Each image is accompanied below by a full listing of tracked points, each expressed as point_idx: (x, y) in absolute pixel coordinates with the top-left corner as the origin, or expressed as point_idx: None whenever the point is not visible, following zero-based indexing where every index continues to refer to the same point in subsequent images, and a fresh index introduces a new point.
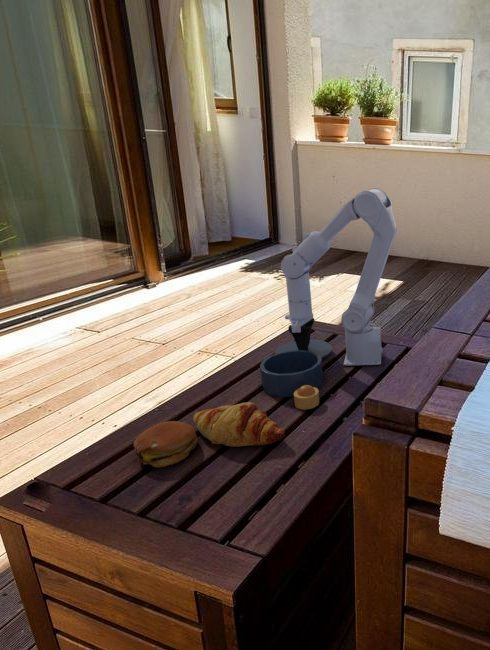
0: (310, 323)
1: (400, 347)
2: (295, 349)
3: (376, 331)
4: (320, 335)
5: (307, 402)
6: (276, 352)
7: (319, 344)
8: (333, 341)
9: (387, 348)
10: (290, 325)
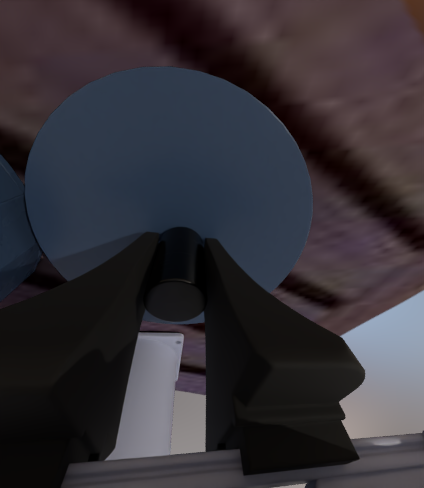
0: (208, 425)
1: (199, 391)
2: (191, 208)
3: None
4: (360, 269)
5: None
6: (159, 80)
7: None
8: (286, 302)
9: (199, 380)
10: (24, 403)
